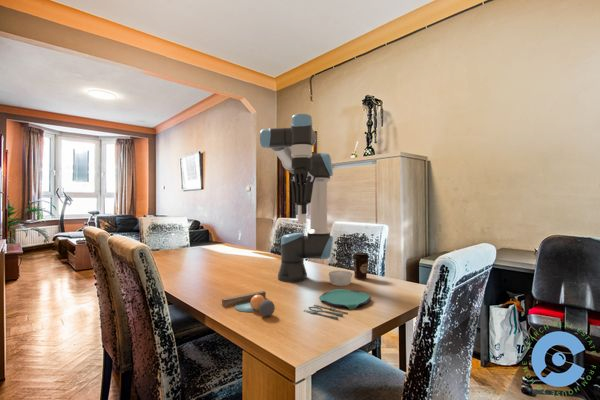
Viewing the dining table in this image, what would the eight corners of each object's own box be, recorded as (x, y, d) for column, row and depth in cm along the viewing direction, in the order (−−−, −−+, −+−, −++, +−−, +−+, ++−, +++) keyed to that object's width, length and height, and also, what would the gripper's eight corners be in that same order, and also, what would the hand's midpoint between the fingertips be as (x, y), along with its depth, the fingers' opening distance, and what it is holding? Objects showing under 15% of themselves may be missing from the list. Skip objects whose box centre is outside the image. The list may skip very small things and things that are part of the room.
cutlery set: (378, 299, 126) (378, 293, 126) (341, 324, 102) (341, 317, 102) (336, 291, 138) (336, 286, 138) (294, 311, 114) (294, 305, 114)
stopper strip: (265, 297, 128) (265, 291, 128) (224, 306, 117) (224, 300, 117) (263, 296, 129) (263, 290, 129) (222, 305, 119) (222, 298, 119)
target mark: (266, 299, 126) (266, 298, 126) (271, 310, 113) (271, 309, 113) (233, 302, 122) (233, 301, 122) (235, 313, 110) (235, 313, 110)
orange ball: (266, 309, 116) (262, 295, 118) (267, 305, 111) (263, 290, 114) (252, 314, 114) (248, 299, 116) (252, 309, 109) (248, 295, 112)
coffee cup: (371, 277, 160) (371, 252, 160) (366, 281, 153) (366, 255, 153) (356, 275, 165) (355, 251, 165) (349, 279, 158) (349, 253, 158)
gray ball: (279, 304, 108) (275, 314, 110) (268, 294, 110) (264, 304, 112) (269, 312, 103) (265, 322, 106) (258, 301, 105) (253, 312, 108)
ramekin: (324, 282, 152) (324, 271, 152) (344, 279, 157) (344, 269, 157) (336, 288, 142) (336, 276, 142) (356, 285, 147) (356, 274, 147)
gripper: (321, 156, 108) (321, 223, 108) (299, 160, 119) (300, 221, 119) (303, 154, 104) (304, 224, 104) (283, 159, 114) (283, 222, 114)
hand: (302, 223), depth 111 cm, fingers closed
